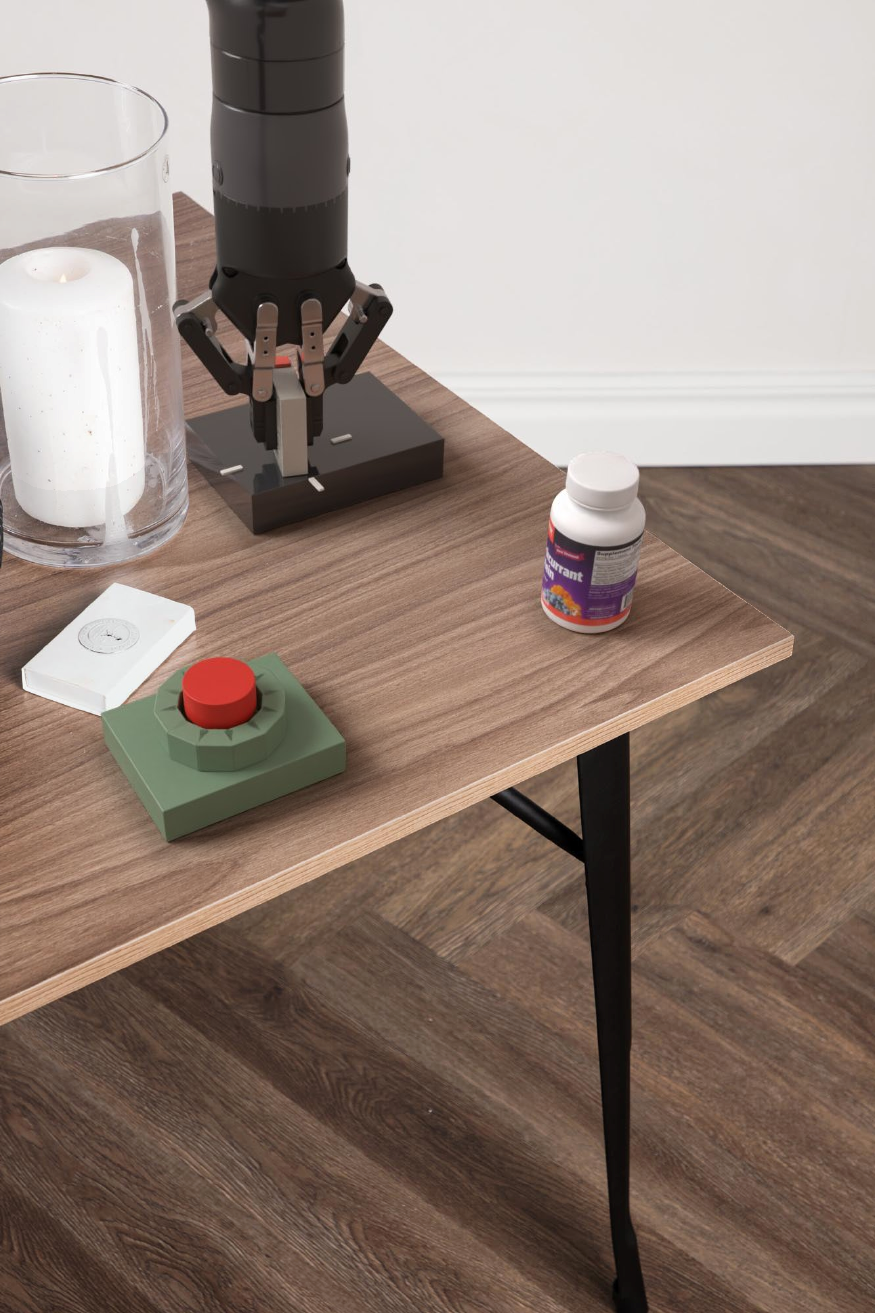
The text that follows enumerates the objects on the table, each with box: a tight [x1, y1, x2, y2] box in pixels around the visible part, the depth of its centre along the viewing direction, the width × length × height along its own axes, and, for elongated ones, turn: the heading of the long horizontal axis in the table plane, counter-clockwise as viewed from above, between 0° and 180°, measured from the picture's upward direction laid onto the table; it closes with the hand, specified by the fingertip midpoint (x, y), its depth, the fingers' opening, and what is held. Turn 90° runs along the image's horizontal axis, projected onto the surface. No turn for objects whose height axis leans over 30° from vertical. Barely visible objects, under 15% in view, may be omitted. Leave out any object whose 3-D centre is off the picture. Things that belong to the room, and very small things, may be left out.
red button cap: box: [182, 656, 257, 729], centre depth 71 cm, size 4×4×2 cm
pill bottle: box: [540, 450, 647, 634], centre depth 81 cm, size 5×5×10 cm
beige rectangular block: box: [272, 355, 308, 477], centre depth 88 cm, size 5×2×6 cm, turn 16°
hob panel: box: [184, 370, 446, 536], centre depth 93 cm, size 15×12×3 cm
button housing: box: [100, 651, 347, 843], centre depth 72 cm, size 10×8×4 cm
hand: (286, 440), depth 90 cm, fingers closed on beige rectangular block, 2 cm apart
